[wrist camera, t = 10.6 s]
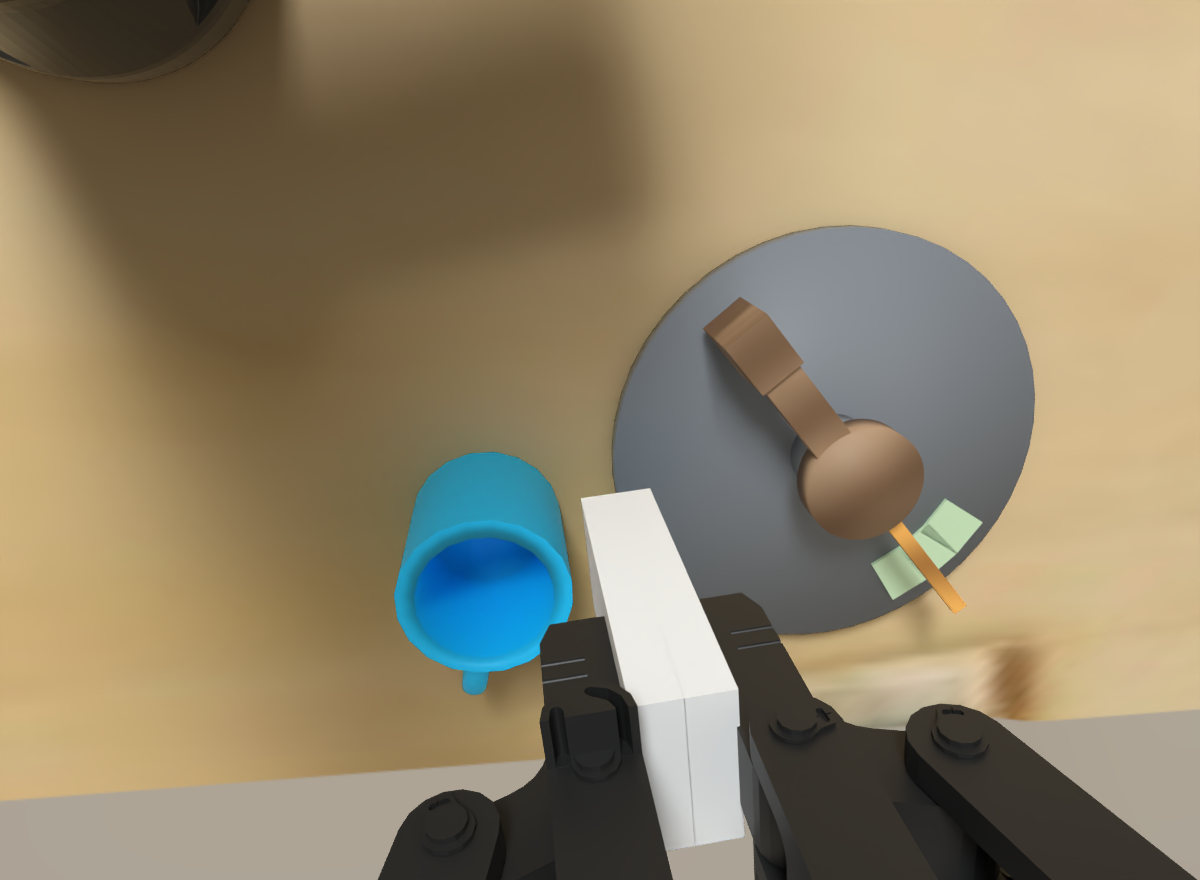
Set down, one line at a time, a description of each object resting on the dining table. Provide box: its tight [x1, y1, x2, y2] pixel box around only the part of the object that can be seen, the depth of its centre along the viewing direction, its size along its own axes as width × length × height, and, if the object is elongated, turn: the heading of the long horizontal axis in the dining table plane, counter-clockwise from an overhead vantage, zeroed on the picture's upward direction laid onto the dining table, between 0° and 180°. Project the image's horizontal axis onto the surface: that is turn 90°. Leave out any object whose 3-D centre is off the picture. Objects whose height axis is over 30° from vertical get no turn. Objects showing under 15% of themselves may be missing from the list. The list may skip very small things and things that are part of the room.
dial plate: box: [612, 225, 1035, 634], centre depth 42 cm, size 24×24×4 cm
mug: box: [394, 452, 573, 695], centre depth 40 cm, size 12×8×8 cm
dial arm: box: [703, 297, 967, 614], centre depth 40 cm, size 22×6×4 cm, turn 40°
